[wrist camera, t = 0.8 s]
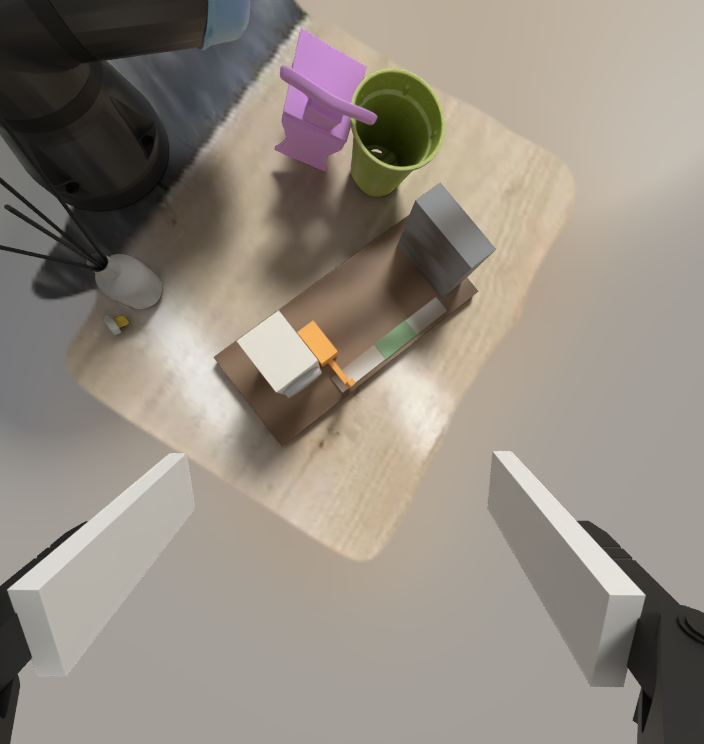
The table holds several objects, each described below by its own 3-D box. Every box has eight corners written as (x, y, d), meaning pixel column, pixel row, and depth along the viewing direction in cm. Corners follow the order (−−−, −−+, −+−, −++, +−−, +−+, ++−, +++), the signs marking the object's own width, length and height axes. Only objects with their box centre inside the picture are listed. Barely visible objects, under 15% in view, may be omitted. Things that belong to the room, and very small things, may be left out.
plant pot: (412, 215, 40) (445, 174, 32) (336, 208, 38) (350, 163, 30) (412, 138, 40) (445, 76, 31) (336, 127, 38) (350, 59, 29)
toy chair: (355, 92, 37) (414, 14, 24) (333, 175, 40) (376, 146, 26) (284, 53, 34) (306, -62, 21) (265, 145, 37) (274, 96, 23)
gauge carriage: (263, 359, 35) (236, 340, 25) (293, 337, 35) (278, 310, 25) (295, 401, 34) (281, 398, 24) (325, 378, 35) (322, 366, 25)
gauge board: (218, 359, 36) (178, 342, 27) (409, 219, 39) (434, 159, 30) (283, 444, 35) (266, 458, 26) (472, 295, 39) (518, 259, 29)
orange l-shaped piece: (300, 338, 35) (295, 327, 30) (314, 327, 35) (312, 314, 31) (343, 393, 35) (345, 391, 30) (357, 382, 35) (361, 377, 30)
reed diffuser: (144, 248, 37) (-74, 62, 17) (199, 274, 37) (47, 120, 17) (98, 327, 36) (-197, 226, 16) (155, 354, 36) (-66, 287, 16)
